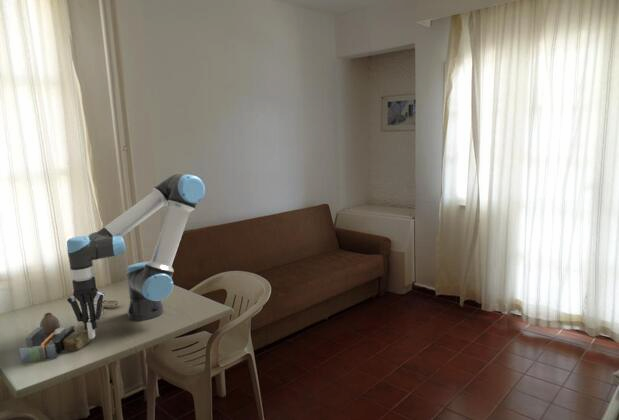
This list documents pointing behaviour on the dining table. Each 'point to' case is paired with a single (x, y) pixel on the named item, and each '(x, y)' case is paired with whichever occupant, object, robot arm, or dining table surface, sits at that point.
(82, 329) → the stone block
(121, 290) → the dining table surface
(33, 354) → the gauge housing
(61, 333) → the plunger
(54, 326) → the vase
